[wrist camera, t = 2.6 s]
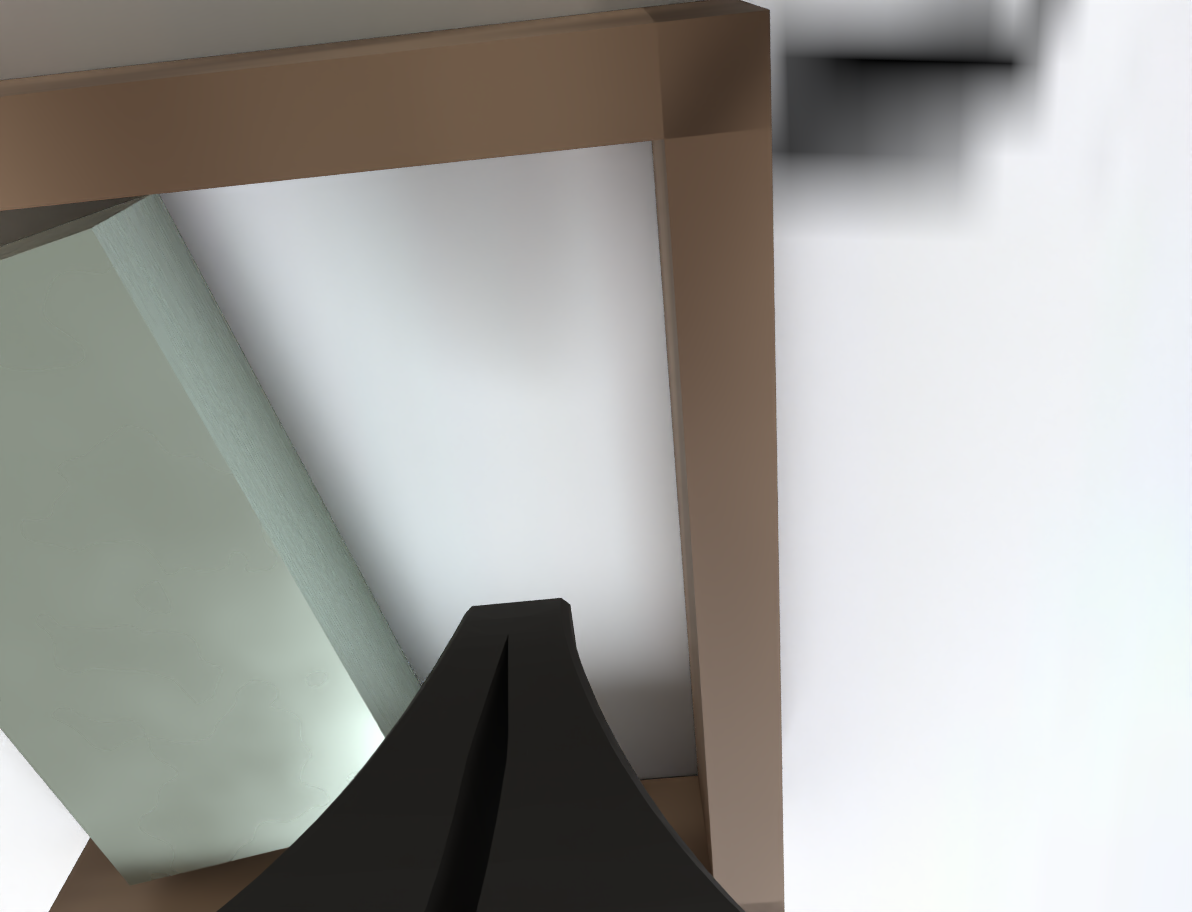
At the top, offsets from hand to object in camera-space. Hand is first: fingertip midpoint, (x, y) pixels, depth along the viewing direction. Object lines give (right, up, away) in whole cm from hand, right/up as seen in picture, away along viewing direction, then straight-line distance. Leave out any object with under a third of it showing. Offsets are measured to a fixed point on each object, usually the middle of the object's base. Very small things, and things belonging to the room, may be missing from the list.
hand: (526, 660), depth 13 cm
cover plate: (-7, +1, +4) cm, 8 cm away
